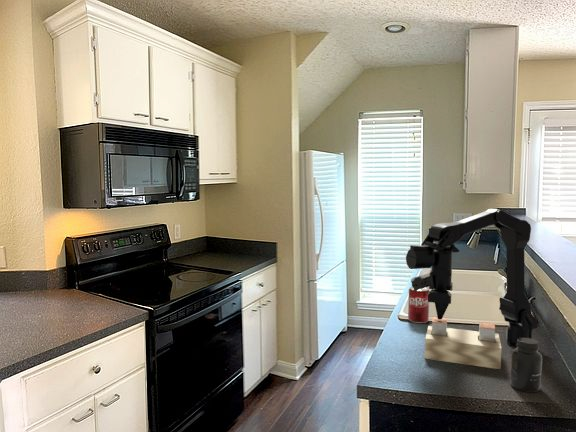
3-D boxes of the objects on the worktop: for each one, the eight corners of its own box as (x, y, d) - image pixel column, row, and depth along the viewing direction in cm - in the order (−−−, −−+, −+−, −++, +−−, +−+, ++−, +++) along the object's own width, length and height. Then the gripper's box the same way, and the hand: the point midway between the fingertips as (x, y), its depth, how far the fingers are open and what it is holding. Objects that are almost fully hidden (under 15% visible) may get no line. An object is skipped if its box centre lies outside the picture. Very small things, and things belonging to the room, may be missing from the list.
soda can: (429, 324, 162) (430, 291, 161) (408, 323, 163) (409, 290, 162) (427, 318, 169) (428, 286, 168) (407, 316, 170) (408, 285, 169)
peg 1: (446, 337, 137) (447, 319, 136) (445, 342, 133) (446, 323, 133) (432, 336, 138) (433, 317, 138) (431, 340, 135) (432, 321, 134)
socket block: (497, 353, 136) (498, 333, 135) (500, 369, 125) (501, 348, 124) (427, 344, 143) (428, 325, 142) (424, 358, 132) (425, 338, 131)
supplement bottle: (539, 395, 110) (542, 347, 109) (508, 388, 113) (510, 342, 112) (541, 384, 116) (543, 339, 115) (511, 378, 119) (513, 333, 118)
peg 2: (493, 343, 132) (494, 324, 132) (494, 348, 129) (495, 328, 128) (478, 341, 134) (479, 322, 133) (479, 346, 130) (479, 326, 129)
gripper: (416, 259, 145) (414, 307, 147) (409, 271, 128) (408, 325, 129) (453, 262, 141) (451, 311, 143) (451, 274, 124) (449, 330, 125)
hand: (439, 318), depth 135 cm, fingers closed
